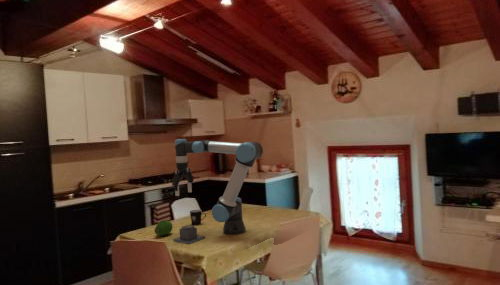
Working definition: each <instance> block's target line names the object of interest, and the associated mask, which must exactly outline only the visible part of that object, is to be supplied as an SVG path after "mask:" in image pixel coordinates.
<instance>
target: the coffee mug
mask: <svg viewBox="0 0 500 285" xmlns="http://www.w3.org/2000/svg"><path fill="white" fill-rule="evenodd" d="M189 214H190V222H191V225H193V226H200V225H201V224H202V223H201V222H202V221H203V220H204V219H205V218H206V216H207V215H206V212H202V209H192V210H189ZM202 214H204V217H203V218H202Z"/></svg>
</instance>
